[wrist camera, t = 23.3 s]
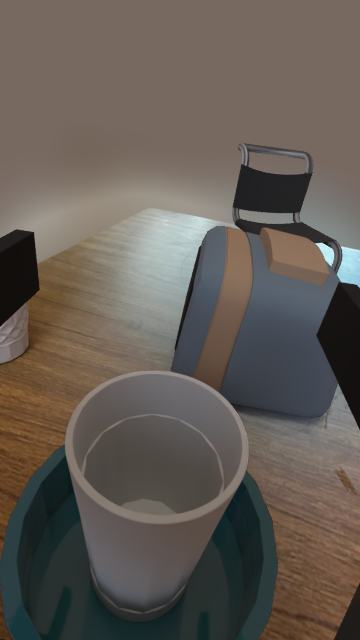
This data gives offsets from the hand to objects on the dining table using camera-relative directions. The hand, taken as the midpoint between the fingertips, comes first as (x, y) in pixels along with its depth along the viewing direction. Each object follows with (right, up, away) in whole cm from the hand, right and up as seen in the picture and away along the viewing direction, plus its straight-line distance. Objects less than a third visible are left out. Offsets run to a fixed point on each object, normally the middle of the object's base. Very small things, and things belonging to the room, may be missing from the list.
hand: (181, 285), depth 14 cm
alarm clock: (+7, -7, +25) cm, 27 cm away
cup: (-3, -17, +6) cm, 18 cm away
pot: (-3, -17, +7) cm, 18 cm away
